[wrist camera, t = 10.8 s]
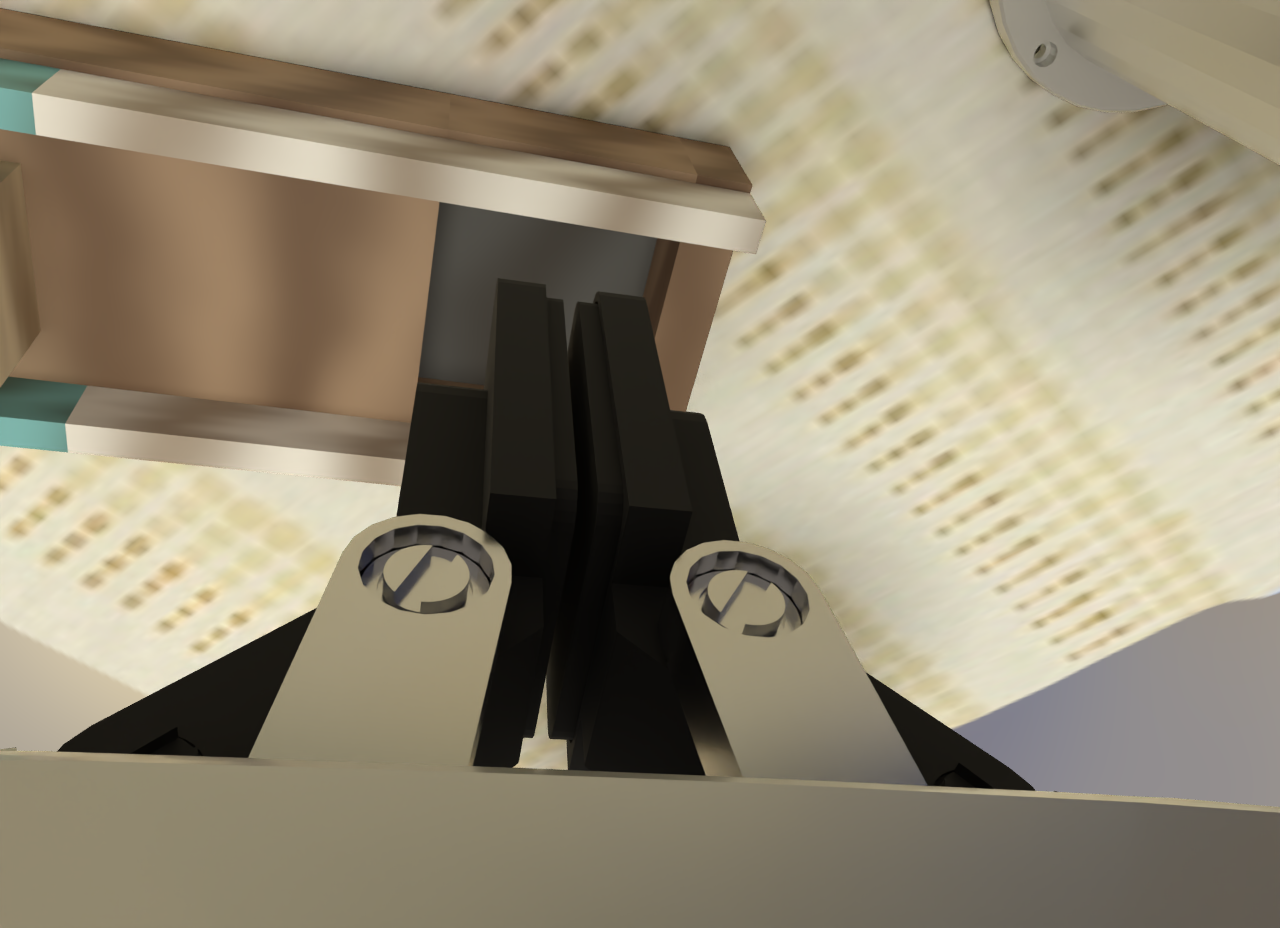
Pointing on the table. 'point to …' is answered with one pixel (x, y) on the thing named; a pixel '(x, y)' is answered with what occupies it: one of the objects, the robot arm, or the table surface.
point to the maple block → (15, 273)
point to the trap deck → (316, 247)
